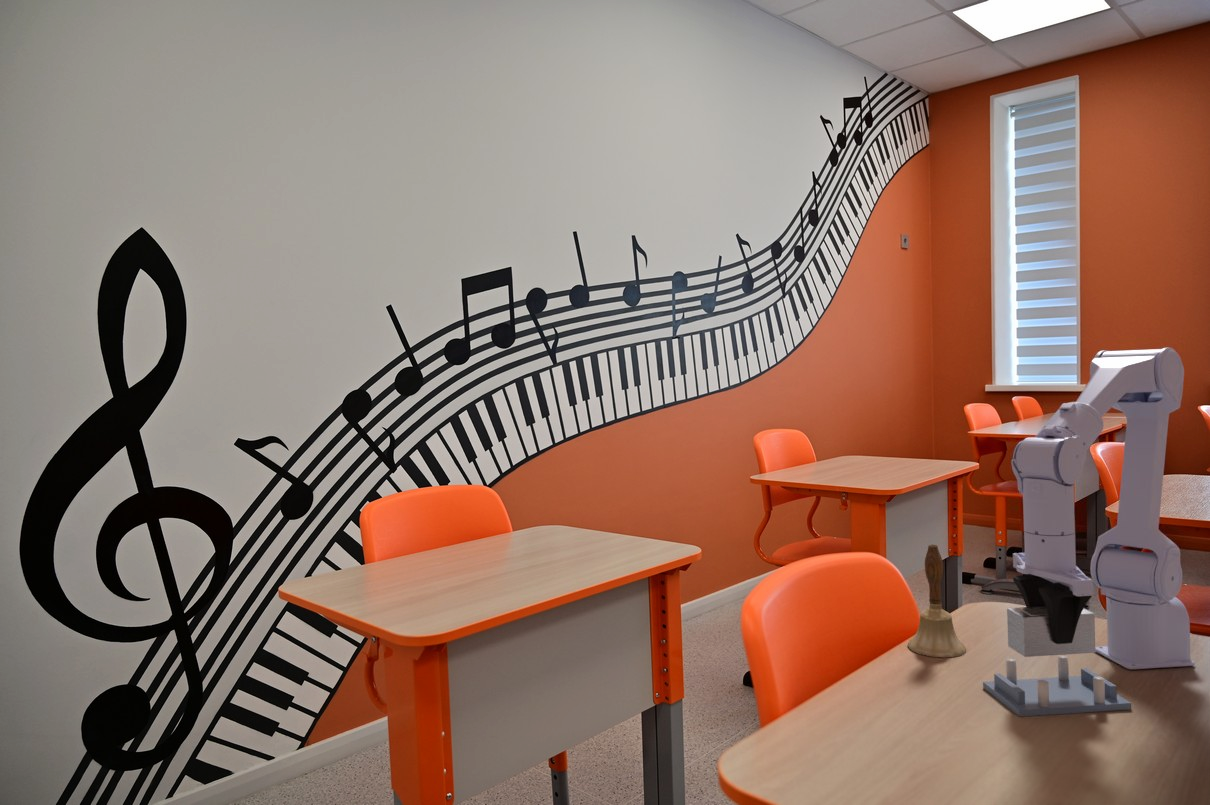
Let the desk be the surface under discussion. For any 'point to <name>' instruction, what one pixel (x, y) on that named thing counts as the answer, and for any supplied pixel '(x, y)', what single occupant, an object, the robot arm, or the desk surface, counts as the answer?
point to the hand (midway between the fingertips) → (1052, 636)
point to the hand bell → (935, 617)
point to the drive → (1046, 633)
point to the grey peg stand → (1055, 692)
